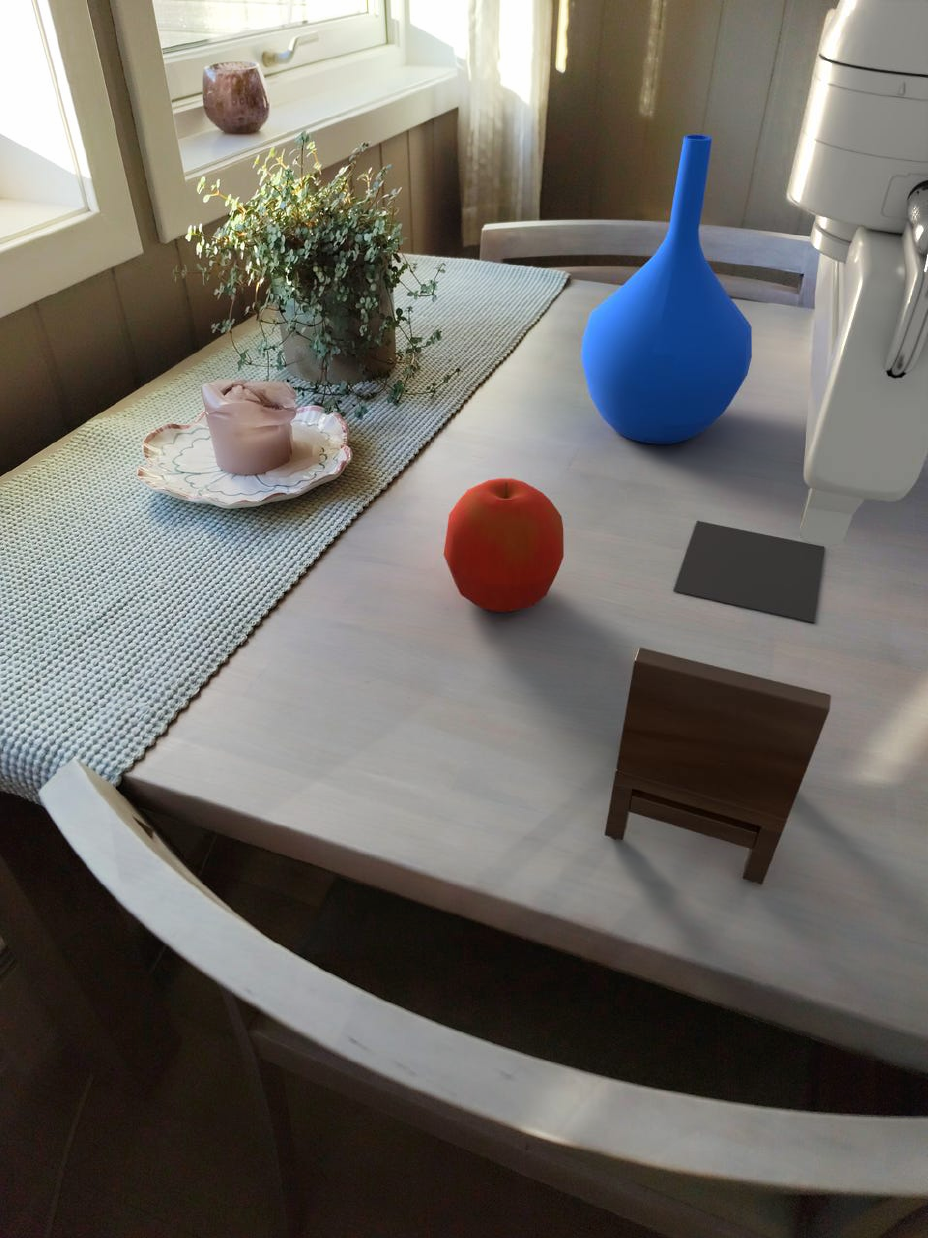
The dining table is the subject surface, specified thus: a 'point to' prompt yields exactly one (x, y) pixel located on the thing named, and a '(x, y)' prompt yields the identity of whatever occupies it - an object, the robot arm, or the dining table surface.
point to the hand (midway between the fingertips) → (821, 481)
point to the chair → (714, 753)
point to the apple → (504, 545)
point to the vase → (669, 331)
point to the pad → (752, 571)
